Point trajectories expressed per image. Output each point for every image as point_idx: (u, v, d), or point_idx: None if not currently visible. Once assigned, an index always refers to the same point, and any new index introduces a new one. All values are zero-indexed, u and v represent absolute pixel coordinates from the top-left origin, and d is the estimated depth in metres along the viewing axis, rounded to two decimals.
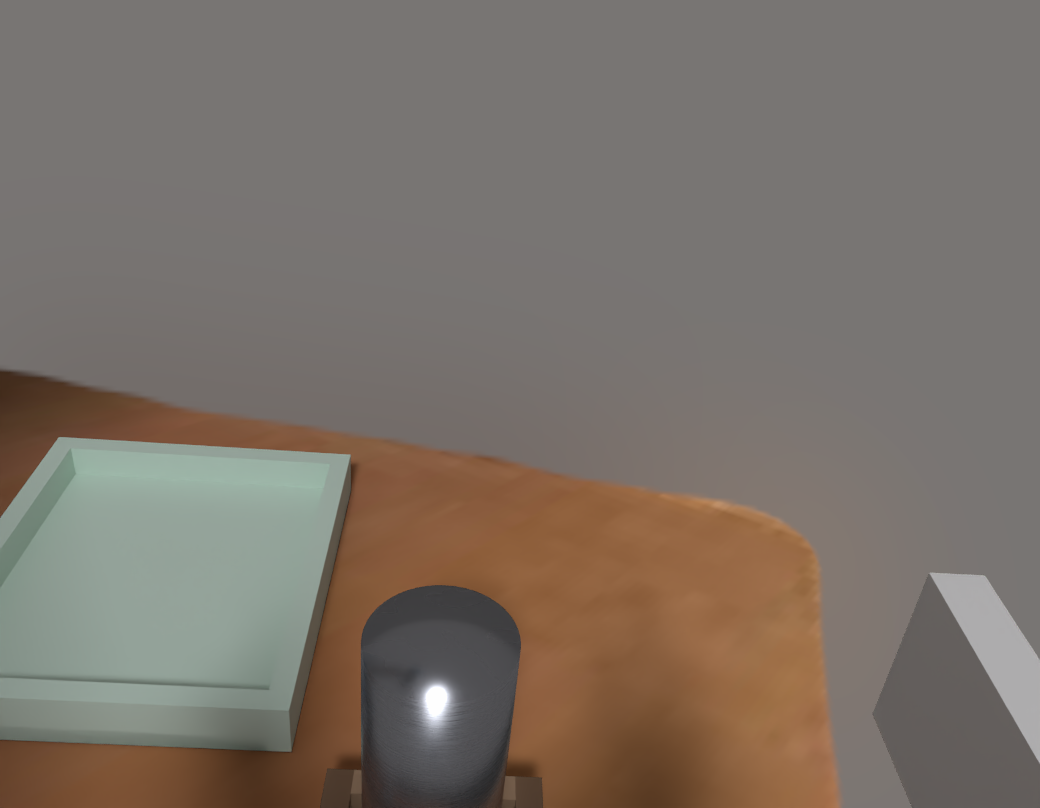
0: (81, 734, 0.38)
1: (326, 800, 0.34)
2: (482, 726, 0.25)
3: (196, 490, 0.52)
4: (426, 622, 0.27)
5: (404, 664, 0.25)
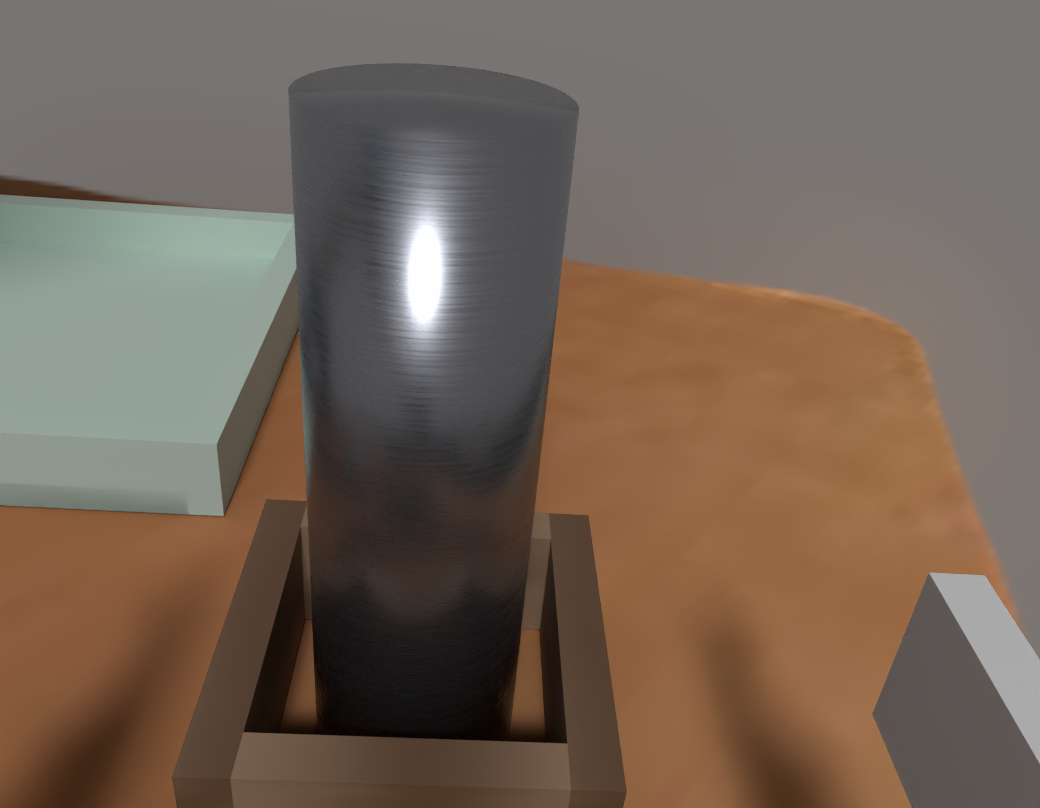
0: None
1: (262, 534, 0.22)
2: (513, 222, 0.14)
3: (119, 256, 0.40)
4: (409, 83, 0.15)
5: (367, 107, 0.14)
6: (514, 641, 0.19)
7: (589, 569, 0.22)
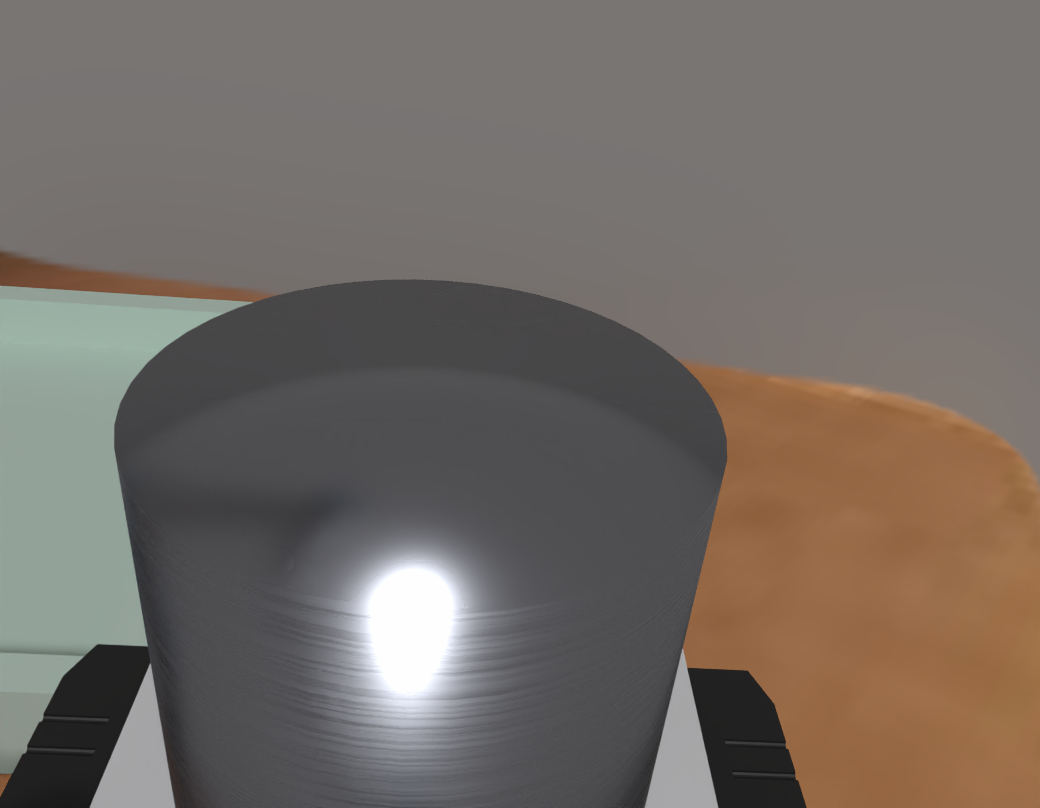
0: None
1: None
2: (598, 718, 0.06)
3: (51, 357, 0.33)
4: (379, 356, 0.08)
5: (279, 466, 0.06)
6: None
7: None
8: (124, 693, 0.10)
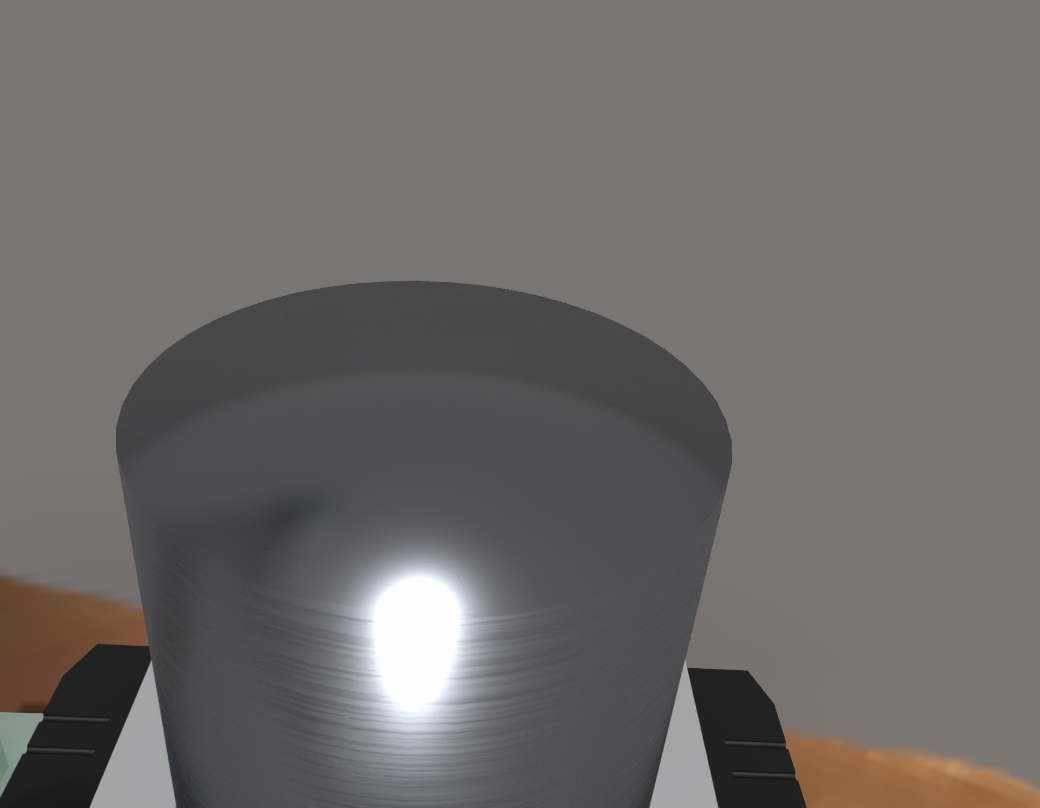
0: None
1: None
2: (603, 724, 0.06)
3: None
4: (382, 357, 0.08)
5: (283, 471, 0.06)
6: None
7: None
8: (124, 693, 0.10)
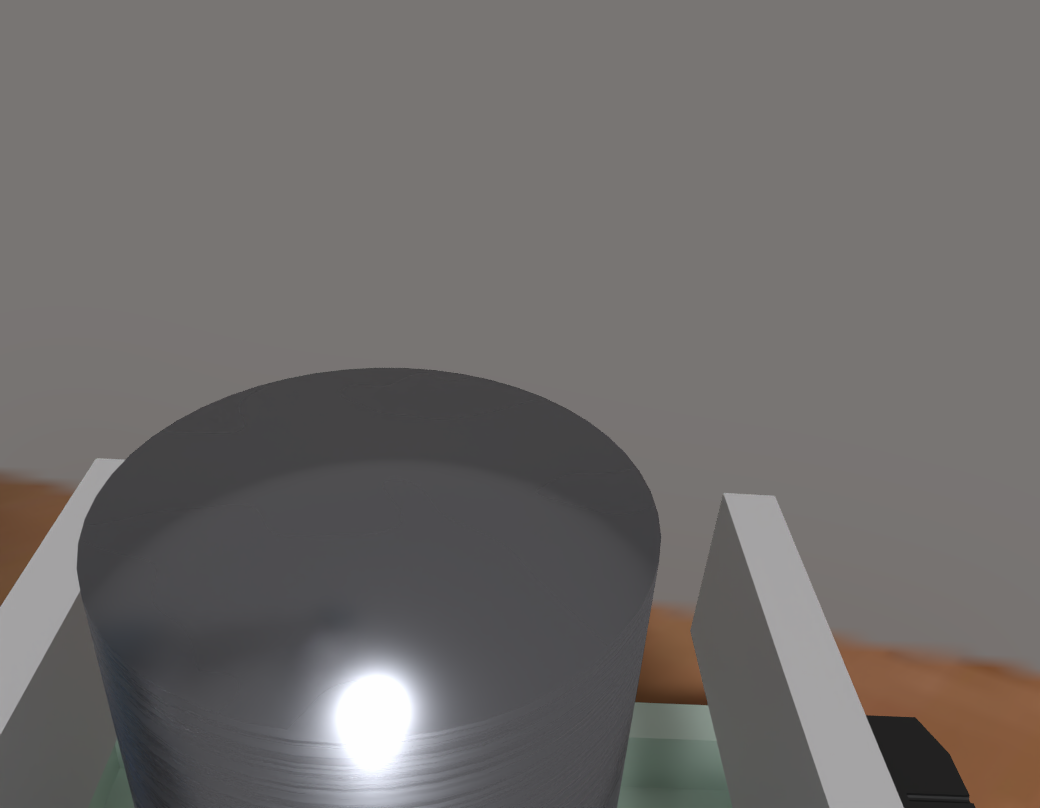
0: None
1: None
2: None
3: None
4: (334, 457, 0.08)
5: (231, 584, 0.07)
6: None
7: None
8: None
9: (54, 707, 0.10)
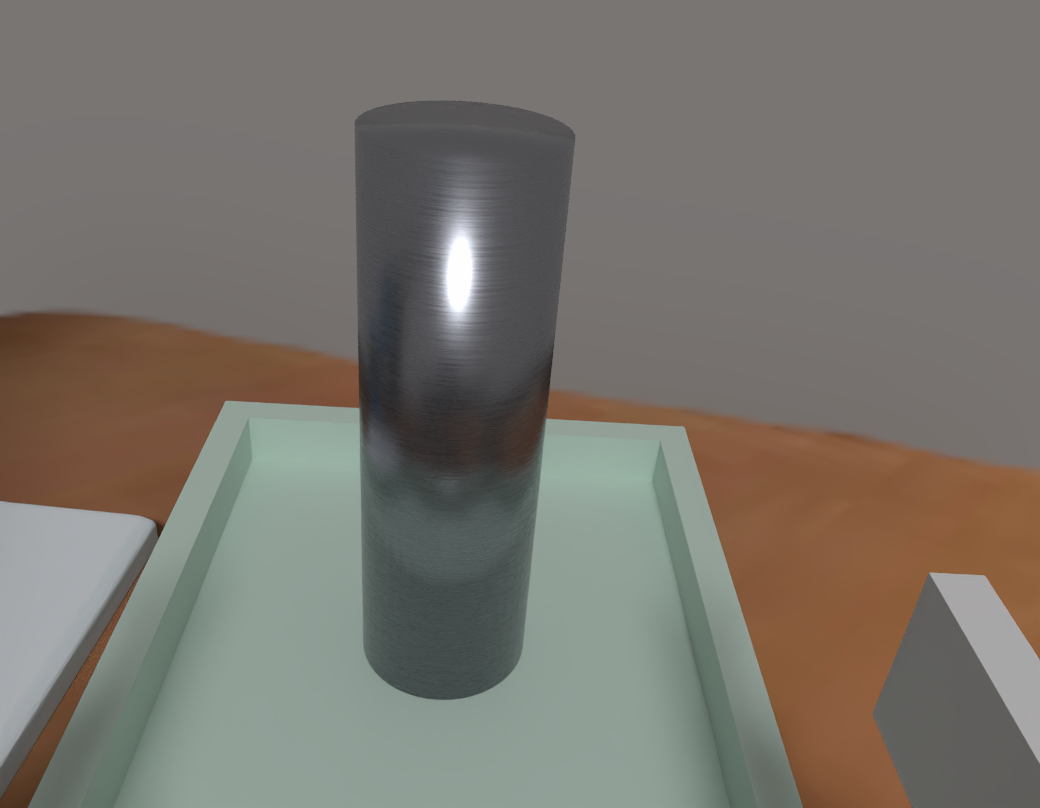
0: None
1: None
2: (525, 224, 0.18)
3: None
4: (444, 118, 0.19)
5: (415, 137, 0.18)
6: (526, 565, 0.24)
7: None
8: None
9: None
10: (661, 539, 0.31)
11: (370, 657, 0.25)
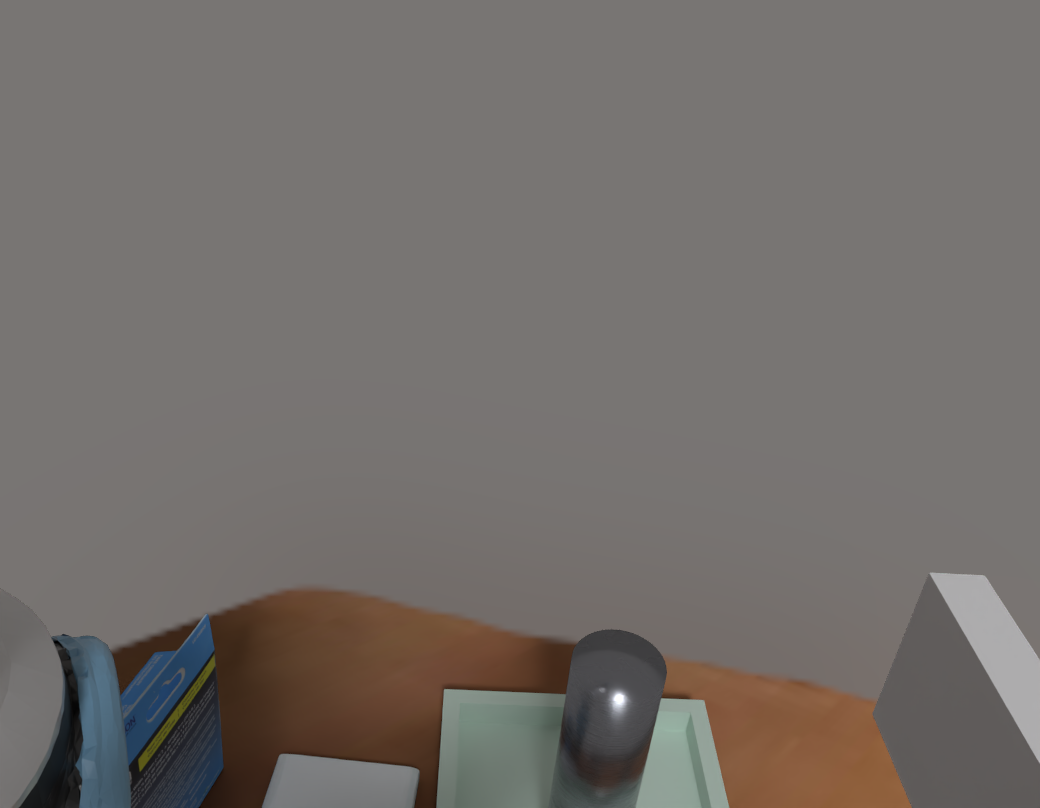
0: None
1: None
2: (646, 715, 0.43)
3: None
4: (608, 653, 0.44)
5: (600, 679, 0.43)
6: None
7: None
8: None
9: None
10: (692, 776, 0.55)
11: None
